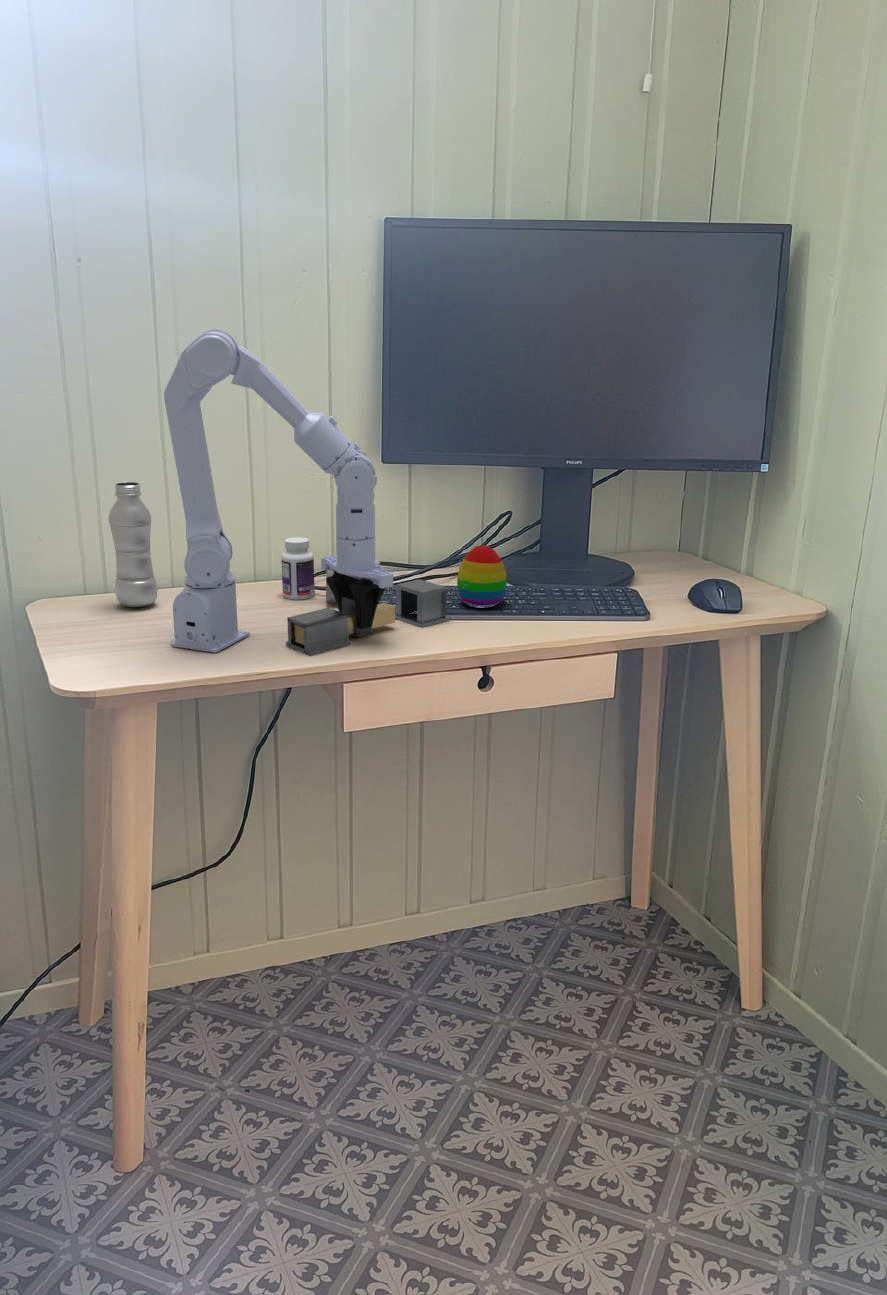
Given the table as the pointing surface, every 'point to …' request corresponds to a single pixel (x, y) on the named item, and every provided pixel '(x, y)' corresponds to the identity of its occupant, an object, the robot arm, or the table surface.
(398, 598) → the grey square bracket
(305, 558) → the pill bottle
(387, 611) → the two-tone block
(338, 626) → the steel sleeve
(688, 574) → the table surface
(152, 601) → the plastic bottle
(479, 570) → the decorative egg
